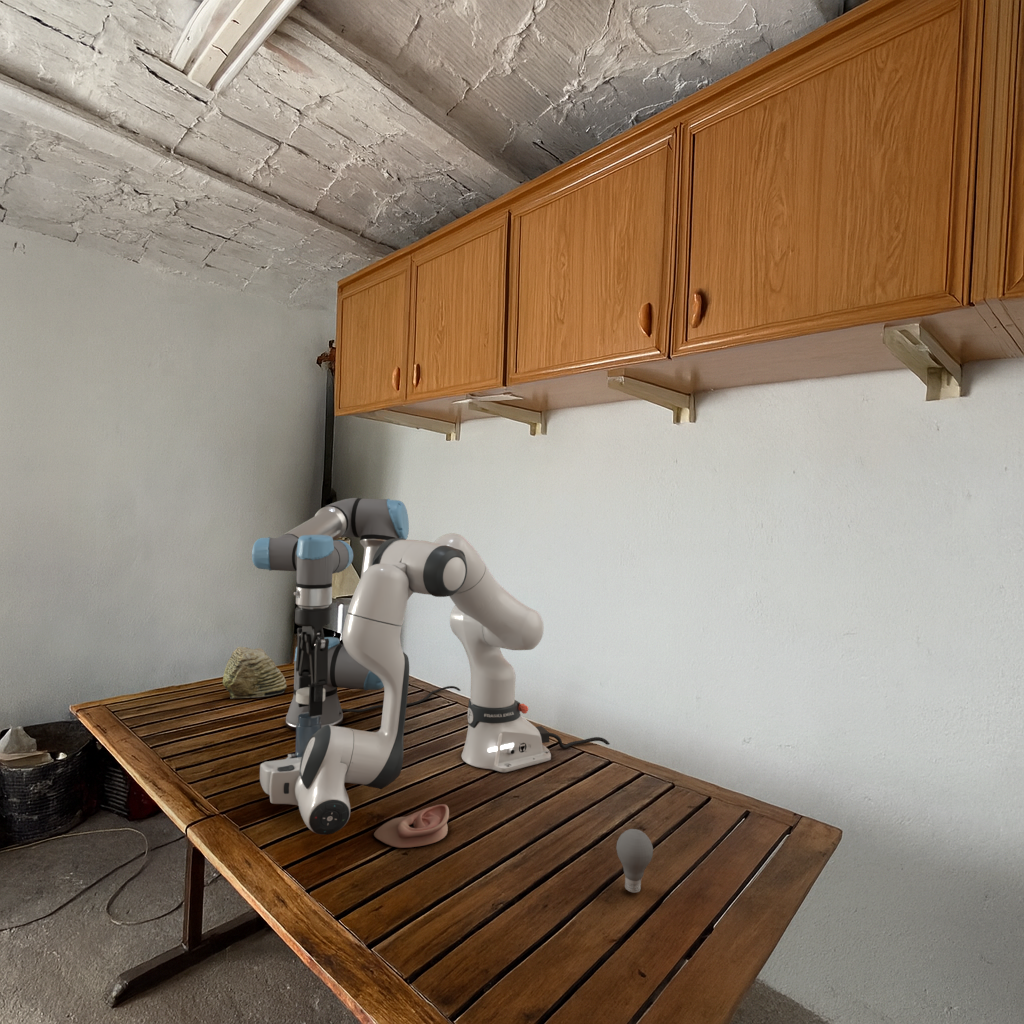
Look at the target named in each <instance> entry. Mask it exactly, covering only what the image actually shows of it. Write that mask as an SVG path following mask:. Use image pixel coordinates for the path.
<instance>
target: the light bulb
mask: <svg viewBox="0 0 1024 1024" xmlns="http://www.w3.org/2000/svg"><path fill="white" fill-rule="evenodd" d="M615 849H616V854H617V857H618V859H619V861H620V863H621V865H622V867H623V873H624V874H623V875H624V876H625V878H624V888H625V890H627V891H628V892H630V893H634V894H635V893H639V892H640V891H641V889H642V887H641V886H642V879H643V877H644V875H645V871H646V868H647V867H648V866H649V864H650V863H651V861H652V859H653V855H654V847H653V843H652V841H651V838H649V836H648V835H647V834H646V833H645V832H643V831H642V830H641V829H636V828H629V829H627V830H625V831H623V832H622V833H621V834H620V835H619V837H618V839H617V841H616V847H615Z"/></svg>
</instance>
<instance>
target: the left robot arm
mask: <svg viewBox="0 0 1024 1024" xmlns="http://www.w3.org/2000/svg"><path fill="white" fill-rule="evenodd" d="M409 521H410V520H409V514H408V510H407V507H406V505H405V503H404V502H403V501H401V500H398V499H390V498H364V497H363V498H360V497H350V498H345V499H340V500H338V501H335V502H332V503H330V504H327V505H325V506H323V507H321V508H320V509H318V511H317V512H316V513H315V514H314V516H313V517H311V518H309V519H307V520H306V521H304V522H302V523H300V524H298V525H297V526H295V527H294V528H291V529H290V530H289V531H287V532H285V533H283V534H281V535H279V536H278V537H270V536H267V537H261V538H257V539H256V540H255V541H254V543H253V545H252V549H251V557H252V558H251V561H252V564H253V565H254V566H255V568H257V569H259V570H267V571H271V572H272V571H280V572H296V583H295V588H296V589H295V590H296V591H294V592H293V597H295V604H296V605H297V606H296V607H295V609H294V623H295V624H296V625H297V626H299V627H297V629H296V632H297V633H296V634H297V644H296V647H295V654H294V659H293V661H294V670H293V671H294V672H293V695H292V696H293V697H292V699H291V702H290V704H289V708H288V711H287V713H286V715H285V726H286V728H287V729H289V730H291V731H294V732H296V723H297V722H298V715H299V714H301V713H304V712H309V717H311V716H317V715H320V717H321V719H320V721H321V722H322V724H321V728H322V727H324V726H326V725H331V726H339V727H340V725H342V723H343V722H344V714H343V712H344V713H346V712H347V713H348V712H349V713H363V712H367V711H371V710H374V709H380V708H383V704H377V705H373V706H369V707H366V708H362V709H361V708H360V709H353V708H342V706H341V702H340V699H339V695H338V688H340V689H353V690H362V691H363V690H364V691H379V690H382V689H384V685H383V683H382V681H381V679H380V678H379V677H378V676H377V675H375V674H374V673H373V672H371V671H370V670H368V669H367V668H365V667H364V666H362V665H361V664H359V663H358V662H357V661H355V660H354V659H353V658H352V657H351V656H350V655H349V654H348V652H347V651H346V649H345V647H344V644H341V641H340V639H339V638H338V637H334V636H325V633H324V627H325V626H327V625H329V624H330V623H331V622H332V607H331V606H330V605H331V604H332V603H333V574H338V573H341V572H343V571H344V570H347V569H348V568H349V567H350V566H351V565H352V563H353V560H354V550H353V549H352V547H351V545H350V544H349V543H348V542H346V541H345V540H341V539H338V538H359V543H360V545H361V546H362V547H363V549H364V550H363V558H362V563H361V572H360V578H361V577H362V575H363V573H364V572H365V570H366V569H367V568H368V567H370V566H372V562H373V558H374V555H375V553H376V551H377V549H378V548H379V547H380V545H381V544H382V543H384V542H385V541H387V540H390V539H395V538H403V539H406V540H408V538H409V537H408V536H409V533H410V532H409V531H410V525H409V523H410V522H409ZM305 687H309V704H300V703H297V702H296V691H297V690H298V689H301V688H305ZM323 688H324V689H325V700H324V701H323ZM448 689H454V690H457V692H461V688H459V687H457V686H455V685H447V686H443V687H440V688H437V689H435V690H432V691H430V692H429V693H428V694H427V695H426V696H425V697H423V698H421V699H419V700H415V701H413V702H409V703H408V702H407V706H406V707H409V706H414V705H418V704H420V703H422V702H424V701H427V700H428V699H429V698H430V697H431V695H433V694H435V693H439V692H441V691H444V690H448Z"/></svg>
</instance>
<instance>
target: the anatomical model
mask: <svg viewBox="0 0 1024 1024" xmlns="http://www.w3.org/2000/svg"><path fill="white" fill-rule="evenodd" d="M449 817H450V809H449V807H448V805H447V804H443V803H442V804H435V805H432V806H429V807H426V808H423V809H421V810H418V811H416V812H413V813H411V814H409V815H407V816H400V817H395V818H392V819H390V820H388V821H386V822H384V823H383V824H382V825H380V826H379V827H378V828H377V829H376V830H375V832H374V833H373V836H374V837H375V839H377V840H378V841H380V842H382V843H384V844H385V845H388V846H391V847H394V848H398V849H399V848H400V849H403V848H414V847H415V848H416V847H423V846H428V845H431V844H434V843H437V842H439V841H441V840H443V839H444V838H446V836H447V835H448V832H449V831H448V829H449V826H448V824H447V823H448V821H449Z"/></svg>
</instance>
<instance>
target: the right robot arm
mask: <svg viewBox="0 0 1024 1024" xmlns="http://www.w3.org/2000/svg"><path fill="white" fill-rule="evenodd" d="M414 593H415V594H421V595H429V596H433V597H435V598H436V597H438V598H447V597H449V598H450V599H451V601H452V602H453V604H454V606H453V607H452V610H451V612H450V615H449V625H450V626H449V627H450V629H451V631H452V633H453V635H454V636H456V638H457V639H458V640H459V641H460V643H461V645H462V647H463V649H464V652H465V653H466V657H467V660H468V663H469V670H470V698H469V700H468V704H467V705H468V706H467V725H468V726H467V732H466V738H465V742H464V746H463V749H462V751H461V755H460V757H461V759H462V761H463V762H464V763H466V764H468V765H470V766H472V767H476V768H478V769H479V768H480V769H484V770H485V769H486V770H492V771H496V772H500V773H509V772H512V771H516V770H520V769H523V768H527V767H531V766H534V765H535V766H536V765H538V764H542V763H545V762H549V761H551V760H552V754H551V751H550V750H549V748H548V747H547V746H545V745H544V744H546V743H550V738H554V739H555V740H556V741H557V743H558V745H559V747H560V748H561V749H562V750H563V749H564V750H566V749H568V748H570V747H573V746H577V745H584V744H588V743H592V742H602V743H604V745H606V746H608V745H610V742H609V741H608V740H607V739H605V738H604V737H599V736H595V737H590V738H589V737H588V738H585V739H580V740H575V741H574V740H573V741H571V742H568V743H566V744H563V741H562V738H561V737H560V736H559V735H558V734H556V733H554V732H550V731H548V730H547V729H545V728H544V727H543V726H542V725H539V726H535V725H534V724H533V723H531V722H530V721H529V720H528V719H526V717H524V716H522V715H521V713H522V714H524V715H525V714H527V713H528V712H529V710H530V709H529V707H528V705H526V704H525V703H521V702H520V701H518V700H516V680H517V679H516V677H517V674H516V670H515V668H514V666H513V665H512V663H510V662H509V661H508V660H507V659H506V658H505V656H504V654H503V652H502V650H501V649H505V650H510V651H531V650H534V649H535V648H537V647H538V645H539V644H540V643H541V641H542V639H543V637H544V632H545V624H544V620H543V618H542V615H541V613H540V612H539V611H537V610H535V609H533V608H531V607H529V606H528V605H526V604H524V603H523V602H522V601H520V600H519V599H517V598H516V597H515V596H514V595H512V594H511V593H510V592H509V591H507V589H505V588H504V587H503V586H502V585H501V584H500V583H499V582H498V580H496V578H495V577H494V575H493V573H492V571H490V569H489V567H488V566H487V564H486V563H485V561H484V559H483V558H482V556H481V555H480V553H479V552H478V550H477V549H476V548H475V547H474V546H473V545H472V544H471V542H469V541H468V540H467V539H466V538H465V537H464V536H463V535H461V534H458V533H456V532H455V533H454V532H453V533H452V532H450V533H446V534H443V535H441V536H439V537H438V538H436V539H435V540H434V541H433V542H432V541H428V540H418V539H403V538H395V539H390V540H387V541H385V542H384V543H382V544H381V545H380V547H379V548H378V549H377V551H376V553H375V555H374V558H373V562H372V566H370V567H368V568H367V569H366V570H365V572H364V573H363V575H362V577H361V576H360V579H359V581H358V583H357V586H356V587H355V590H354V591H353V594H352V596H351V600H350V603H349V606H348V609H347V613H346V615H345V619H344V623H343V627H342V634H341V640H342V645H344V647H345V649H346V651H347V652H348V654H349V655H350V656H351V657H352V658H353V659H354V660H355V661H357V662H358V663H359V664H361V665H362V666H364V667H365V668H367V669H368V670H370V671H371V672H373V673H374V674H375V675H377V676H378V677H379V678H380V679H381V681H382V683H383V685H384V687H383V690H384V692H383V693H384V694H383V703H382V705H383V707H382V711H381V713H382V714H381V723H380V727H379V730H377V731H367V730H361V729H355V728H351V727H345V726H340V725H339V726H331V725H326V726H324V727H322V728H321V729H319V730H318V731H317V732H316V733H314V734H313V735H312V736H311V737H310V738H309V740H308V742H307V744H306V746H305V748H304V751H303V754H302V757H298V758H296V755H295V753H288V754H287V757H286V758H284V759H283V758H282V759H276V760H275V759H274V760H269V761H267V760H266V761H263V762H262V763H260V764H259V783H260V786H261V788H262V790H263V792H264V793H265V794H266V795H267V796H269V802H270V803H271V804H273V805H292V806H298V810H299V813H300V816H301V819H302V820H303V823H304V824H305V825H306V827H307V828H308V829H309V830H310V831H311V832H312V833H314V834H317V835H322V836H327V835H328V836H329V835H332V834H335V833H337V832H338V831H340V830H341V829H343V828H344V827H345V826H346V825H347V823H348V822H349V820H350V817H351V803H350V797H349V794H348V791H347V789H346V786H345V784H355V785H362V786H365V787H369V788H375V789H378V790H383V789H385V788H386V787H387V786H390V785H391V784H392V783H393V782H395V781H396V780H397V779H398V778H399V777H400V774H401V772H402V769H403V768H402V767H403V765H404V735H405V725H406V716H407V715H406V714H407V707H408V706H407V703H408V695H409V683H410V682H409V681H410V660H409V656H408V654H407V653H405V652H404V651H403V647H402V642H401V634H402V628H403V624H404V621H405V616H406V612H407V611H406V610H407V606H408V600H409V599H410V597H411V596H412V595H413V594H414Z"/></svg>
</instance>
